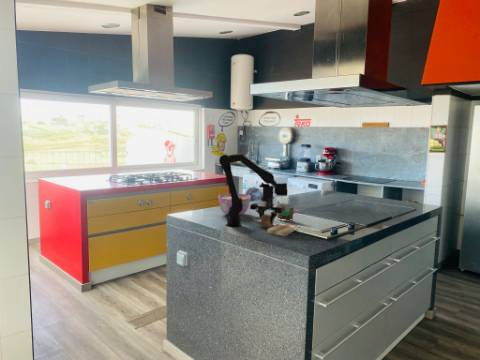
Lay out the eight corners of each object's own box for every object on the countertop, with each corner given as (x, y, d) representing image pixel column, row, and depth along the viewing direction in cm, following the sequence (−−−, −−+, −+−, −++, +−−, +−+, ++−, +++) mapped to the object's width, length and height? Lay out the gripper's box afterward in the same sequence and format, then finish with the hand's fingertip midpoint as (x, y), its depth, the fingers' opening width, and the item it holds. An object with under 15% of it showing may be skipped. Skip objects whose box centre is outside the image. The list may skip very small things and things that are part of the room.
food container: (271, 219, 219) (271, 202, 217) (277, 217, 223) (278, 201, 222) (287, 223, 210) (288, 205, 209) (294, 221, 215) (295, 204, 213)
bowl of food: (217, 218, 217) (217, 199, 215) (218, 211, 237) (218, 193, 235) (251, 219, 218) (252, 199, 216) (249, 211, 237) (249, 193, 236)
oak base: (267, 233, 190) (267, 229, 189) (278, 226, 202) (278, 223, 202) (285, 236, 185) (285, 232, 185) (295, 229, 197) (295, 226, 197)
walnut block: (260, 226, 202) (261, 215, 201) (264, 224, 206) (265, 213, 206) (269, 227, 200) (269, 216, 199) (273, 225, 204) (273, 215, 203)
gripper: (245, 195, 198) (245, 224, 200) (277, 199, 189) (276, 229, 191) (255, 192, 208) (254, 219, 210) (286, 196, 199) (285, 224, 201)
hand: (267, 223), depth 203 cm, fingers closed on walnut block, 5 cm apart
